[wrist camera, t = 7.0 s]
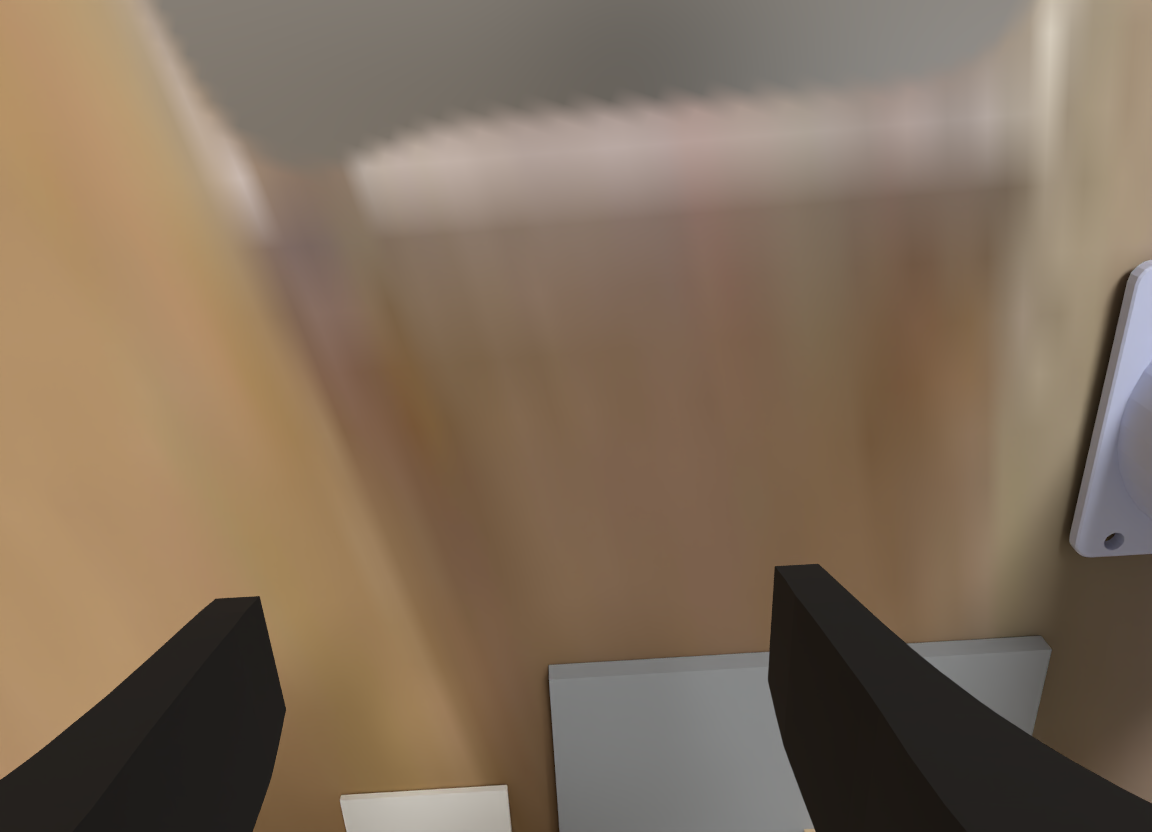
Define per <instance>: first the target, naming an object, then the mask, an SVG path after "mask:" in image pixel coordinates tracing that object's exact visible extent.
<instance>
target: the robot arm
mask: <svg viewBox="0 0 1152 832" xmlns="http://www.w3.org/2000/svg"><path fill="white" fill-rule="evenodd" d="M1114 533H1115V535H1114V536H1113V537H1112V538H1111V539H1110V540H1108V541H1105V539H1106V538H1107V537H1108V536H1109V535H1111V534H1114ZM1069 542H1070V544H1071V546H1072V547H1073V548H1074V550H1075V551H1076V552H1077V553H1078V554H1080V555H1082V556H1083V557H1106V556H1124V555H1141V554H1152V260H1148V261H1145V262H1143V263H1141V264H1140V265H1138V266H1137V267H1136V268H1135V269H1134V270H1133V271H1132V272H1131V274H1130V276H1129V278H1128V281H1127V285H1126V289H1125V294H1124V298H1123V302H1122V307H1121V311H1120V316H1119V320H1118V324H1117V329H1116V333H1115V338H1114V342H1113V346H1112V351H1111V355H1110V360H1109V364H1108V369H1107V373H1106V377H1105V382H1104V386H1103V391H1102V395H1101V399H1100V404H1099V408H1098V413H1097V417H1096V421H1095V426H1094V430H1093V435H1092V439H1091V443H1090V448H1089V452H1088V457H1087V461H1086V465H1085V470H1084V474H1083V479H1082V483H1081V488H1080V492H1079V496H1078V501H1077V505H1076V510H1075V514H1074V518H1073V523H1072V527H1071V532H1070V536H1069ZM768 684H769V688H770V692H771V697H772V701H773V705H774V710H775V714H776V718H777V722H778V726H779V730H780V734H781V738H782V742H783V746H784V749H785V751H786V754H787V757H788V760H789V763H790V765H791V768H792V771H793V773H794V776H795V779H796V781H797V784H798V787H799V789H800V792H801V795H802V797H803V800H804V803H805V805H806V808H807V811H808V813H809V816H810V818H811V821H812V824H813V826H814V829H815V832H1152V804H1151V803H1149V802H1147V801H1145V800H1144V799H1142V798H1140V797H1138V796H1136V795H1134V794H1132V793H1130V792H1128V791H1126V790H1124V789H1122V788H1120V787H1118V786H1117V785H1115V784H1113V783H1111V782H1109V781H1108V780H1106V779H1104V778H1102V777H1100V776H1099V775H1097V774H1095V773H1093V772H1091V771H1090V770H1088V769H1086V768H1084V767H1082V766H1081V765H1079V764H1077V763H1075V762H1073V761H1072V760H1070V759H1068V758H1067V757H1065V756H1063V755H1062V754H1060V753H1058V752H1056V751H1055V750H1053V749H1051V748H1050V747H1048V746H1047V745H1045V744H1043V743H1042V742H1040V741H1039V740H1037V739H1036V738H1034V737H1032V736H1031V735H1029V734H1028V733H1026V732H1025V731H1023V730H1022V729H1020V728H1019V727H1017V726H1016V725H1014V724H1013V723H1011V722H1009V721H1008V720H1006V719H1005V718H1003V717H1002V716H1000V715H999V714H997V713H996V712H994V711H993V710H992V709H990V708H989V707H987V706H986V705H984V704H983V703H982V702H980V701H979V700H977V699H976V698H975V697H973V696H972V695H971V694H969V693H968V692H967V691H965V690H964V689H963V688H961V687H960V686H959V685H958V684H956V683H955V682H954V681H952V680H951V679H950V678H948V677H947V676H946V675H944V674H943V673H942V672H940V671H939V670H938V669H937V668H935V667H934V666H933V665H932V664H930V663H929V662H928V661H927V660H925V659H924V658H923V657H922V656H921V655H919V654H918V653H917V652H916V651H915V650H913V649H912V648H911V647H910V646H909V645H907V644H906V643H905V642H904V641H903V640H902V639H900V638H899V637H898V636H897V635H896V634H895V633H893V632H892V631H891V630H890V629H889V628H888V627H887V626H885V625H884V624H883V623H882V622H881V621H880V620H879V619H878V618H877V617H875V616H874V615H873V614H872V613H871V612H870V611H869V610H868V609H867V608H866V607H865V606H863V605H862V604H861V603H860V602H859V601H858V600H857V599H856V598H855V597H854V596H853V595H851V594H850V593H849V592H848V591H847V590H846V589H845V588H844V587H843V586H842V585H841V584H840V583H839V582H837V581H836V580H835V579H834V578H833V577H832V576H831V575H830V574H829V573H828V572H827V571H826V570H824V569H823V568H822V567H821V566H820V565H819V564H808V565H790V566H775V573H774V589H773V604H772V620H771V636H770V652H769V668H768ZM285 711H286V707H285V703H284V699H283V695H282V690H281V686H280V682H279V677H278V673H277V669H276V665H275V660H274V656H273V652H272V647H271V643H270V639H269V635H268V630H267V626H266V622H265V618H264V613H263V609H262V605H261V600H260V596H256V597H238V598H221V599H215V600H214V601H212V602H211V603H210V604H209V605H208V606H206V607H205V608H204V609H203V610H202V611H201V612H199V613H198V614H197V615H196V616H195V617H194V618H193V619H192V620H191V621H189V622H188V623H187V624H186V625H185V626H184V627H183V628H182V629H181V630H180V631H178V632H177V633H176V634H175V635H174V636H173V637H172V638H171V639H170V640H169V641H168V642H166V643H165V644H164V645H163V646H162V647H161V648H160V649H159V650H158V651H157V652H155V653H154V654H153V655H152V656H151V657H150V658H149V659H148V660H147V661H145V662H144V663H143V664H142V665H141V666H140V667H139V668H138V669H137V670H135V671H134V672H133V673H132V674H131V675H130V676H129V677H128V678H126V679H125V680H124V681H123V682H122V683H121V684H120V685H119V686H117V687H116V688H115V689H114V690H113V691H112V692H111V693H110V694H108V695H107V696H106V697H105V698H104V699H102V700H101V701H100V702H99V703H98V704H96V705H95V706H94V707H93V708H92V709H90V710H89V711H88V712H87V713H85V714H84V715H83V716H82V717H81V718H79V719H78V720H77V721H76V722H74V723H73V724H72V725H71V726H70V727H68V728H67V729H66V730H65V731H63V732H62V733H61V734H60V735H59V736H57V737H56V738H55V739H54V740H53V741H51V742H50V743H49V744H48V745H46V746H45V747H44V748H43V749H41V750H40V751H39V752H37V753H36V754H35V755H34V756H32V757H31V758H30V759H28V760H27V761H26V762H24V763H23V764H22V765H20V766H19V767H18V768H16V769H15V770H14V771H12V772H11V773H9V774H8V775H7V776H5V777H4V778H3V779H1V780H0V832H253V829H254V826H255V823H256V820H257V817H258V815H259V812H260V809H261V806H262V803H263V800H264V798H265V795H266V792H267V789H268V786H269V783H270V780H271V777H272V772H273V768H274V764H275V759H276V755H277V751H278V746H279V741H280V736H281V731H282V726H283V721H284V716H285Z"/></svg>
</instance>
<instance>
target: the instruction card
mask: <svg viewBox="0 0 1152 832" xmlns="http://www.w3.org/2000/svg"><path fill="white" fill-rule="evenodd" d="M340 804H341V808H342V813H343V818H344V822H345V827H346V832H512V827H511V818H510V808H509V798H508V788H507V785H496V786H480V787H464V788H448V789H432V790H416V791H399V792H383V793H367V794H351V795H341V798H340Z"/></svg>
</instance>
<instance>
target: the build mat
mask: <svg viewBox="0 0 1152 832" xmlns="http://www.w3.org/2000/svg"><path fill="white" fill-rule="evenodd" d="M907 645H909V646H910V647H911V648H912V649H913V650H915V651H916V652H917V653H918V654H919V655H921V656H922V657H923V658H924V659H925V660H927V661H928V662H929V663H930V664H932V665H933V666H934V667H935V668H937V669H938V670H939V671H940V672H942V673H943V674H944V675H946V676H947V677H948V678H950V679H951V680H952V681H954V682H955V683H956V684H958V685H959V686H960V687H961V688H963V689H964V690H965V691H967V692H968V693H969V694H971V695H972V696H973V697H975V698H976V699H977V700H979V701H980V702H982V703H983V704H984V705H986V706H987V707H989V708H990V709H992V710H993V711H994V712H996V713H997V714H999V715H1000V716H1002V717H1003V718H1005V719H1006V720H1008V721H1009V722H1011V723H1013V724H1014V725H1016V726H1017V727H1019V728H1020V729H1022V730H1023V731H1025V732H1026V733H1028V734H1029V735H1031V736H1032V733H1033V729H1034V725H1035V721H1036V716H1037V712H1038V708H1039V703H1040V699H1041V695H1042V690H1043V686H1044V682H1045V677H1046V673H1047V669H1048V664H1049V660H1050V656H1051V652H1052V649H1051V648H1050V646H1049V645H1048V644H1047V643H1046V641H1045V640H1044V639H1043V637H1042V636H1026V637H1010V638H993V639H976V640H959V641H943V642H926V643H909V644H907ZM768 668H769V652H759V653H742V654H725V655H708V656H692V657H675V658H658V659H641V660H625V661H608V662H591V663H574V664H558V665H549V687H550V701H551V716H552V730H553V744H554V759H555V773H556V788H557V802H558V816H559V831H560V832H804V829H814V826H813V824H812V821H811V818H810V816H809V813H808V811H807V808H806V805H805V803H804V800H803V797H802V795H801V792H800V789H799V787H798V784H797V781H796V779H795V776H794V773H793V771H792V768H791V765H790V763H789V760H788V757H787V754H786V751H785V749H784V746H783V742H782V738H781V734H780V730H779V726H778V722H777V718H776V714H775V710H774V705H773V701H772V697H771V692H770V688H769V684H768Z"/></svg>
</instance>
